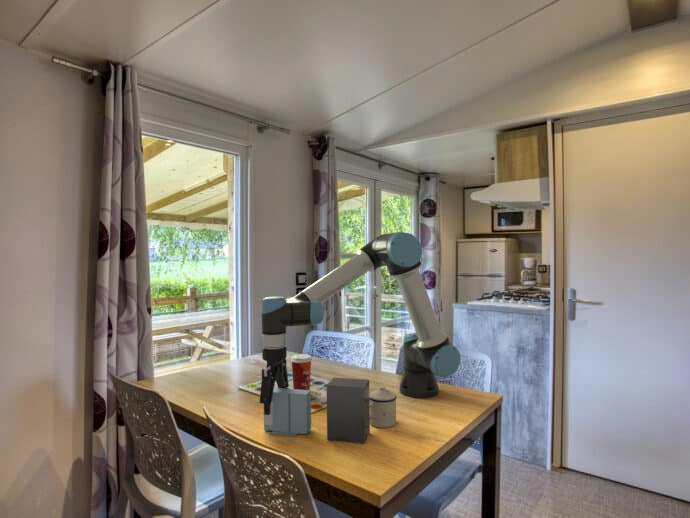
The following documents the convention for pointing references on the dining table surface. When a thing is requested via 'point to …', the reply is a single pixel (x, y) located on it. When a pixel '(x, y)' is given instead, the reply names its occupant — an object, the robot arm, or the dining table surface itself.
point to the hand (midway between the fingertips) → (275, 417)
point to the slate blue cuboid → (291, 411)
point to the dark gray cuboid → (348, 410)
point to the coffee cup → (301, 371)
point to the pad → (283, 433)
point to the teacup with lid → (382, 408)
